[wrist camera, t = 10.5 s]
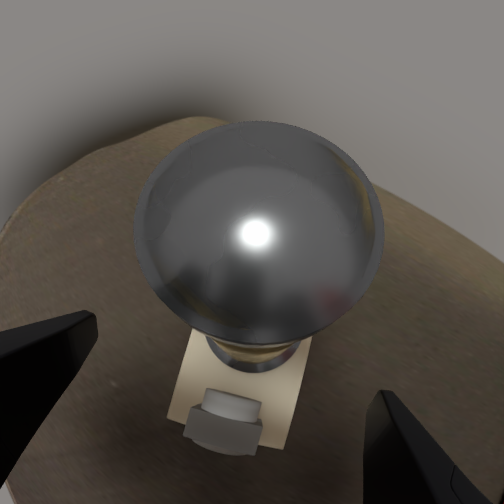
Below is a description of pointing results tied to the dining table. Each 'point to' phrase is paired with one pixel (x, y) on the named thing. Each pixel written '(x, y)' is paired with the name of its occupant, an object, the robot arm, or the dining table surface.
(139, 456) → the dining table surface
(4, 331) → the robot arm
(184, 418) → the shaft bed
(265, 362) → the metal capped yellow cylinder
